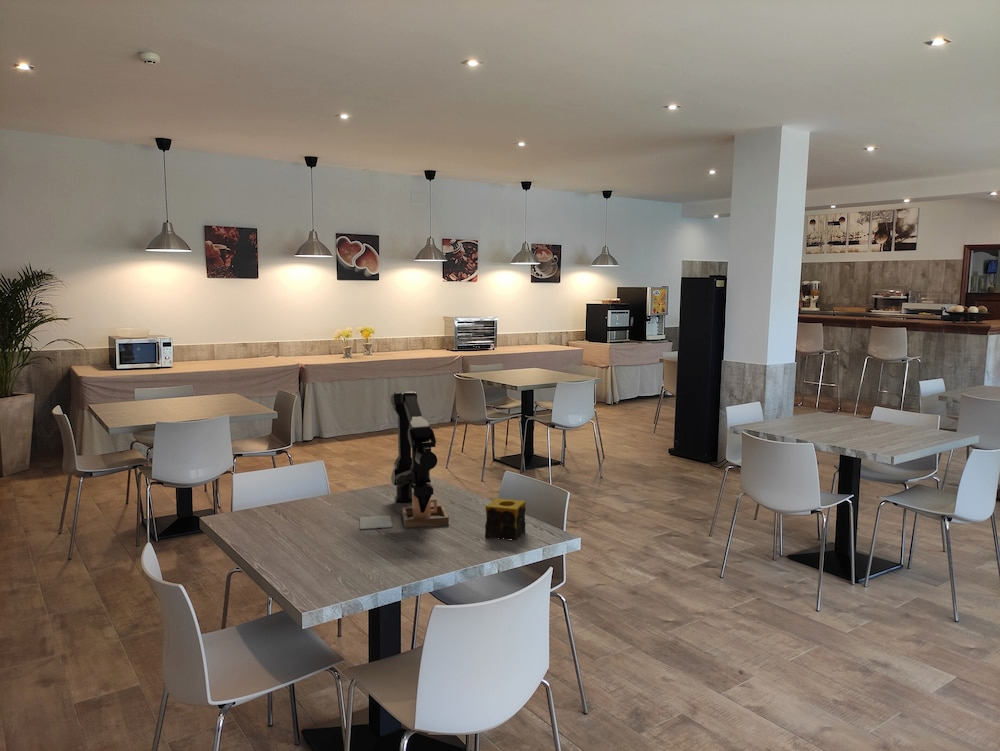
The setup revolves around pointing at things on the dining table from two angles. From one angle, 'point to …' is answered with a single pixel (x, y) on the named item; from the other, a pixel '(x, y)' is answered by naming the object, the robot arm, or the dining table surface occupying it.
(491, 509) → the candle
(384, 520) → the pad
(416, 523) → the wooden picture frame
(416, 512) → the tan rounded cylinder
